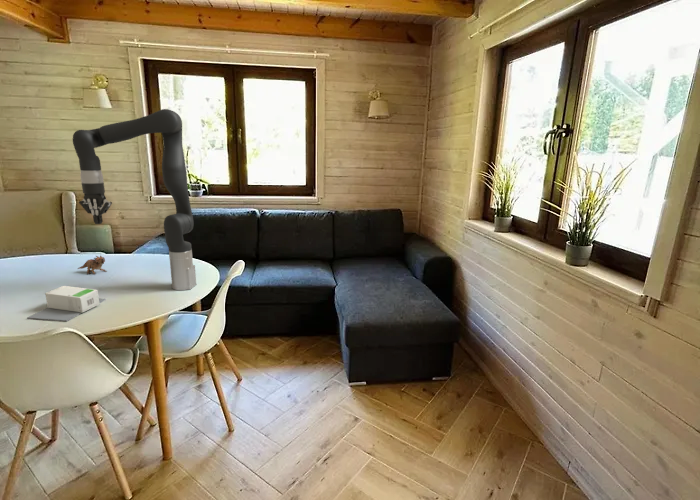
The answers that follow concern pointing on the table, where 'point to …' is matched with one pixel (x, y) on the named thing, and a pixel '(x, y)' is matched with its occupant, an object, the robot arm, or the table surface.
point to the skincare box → (72, 298)
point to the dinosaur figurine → (94, 264)
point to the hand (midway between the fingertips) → (98, 223)
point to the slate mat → (56, 314)
